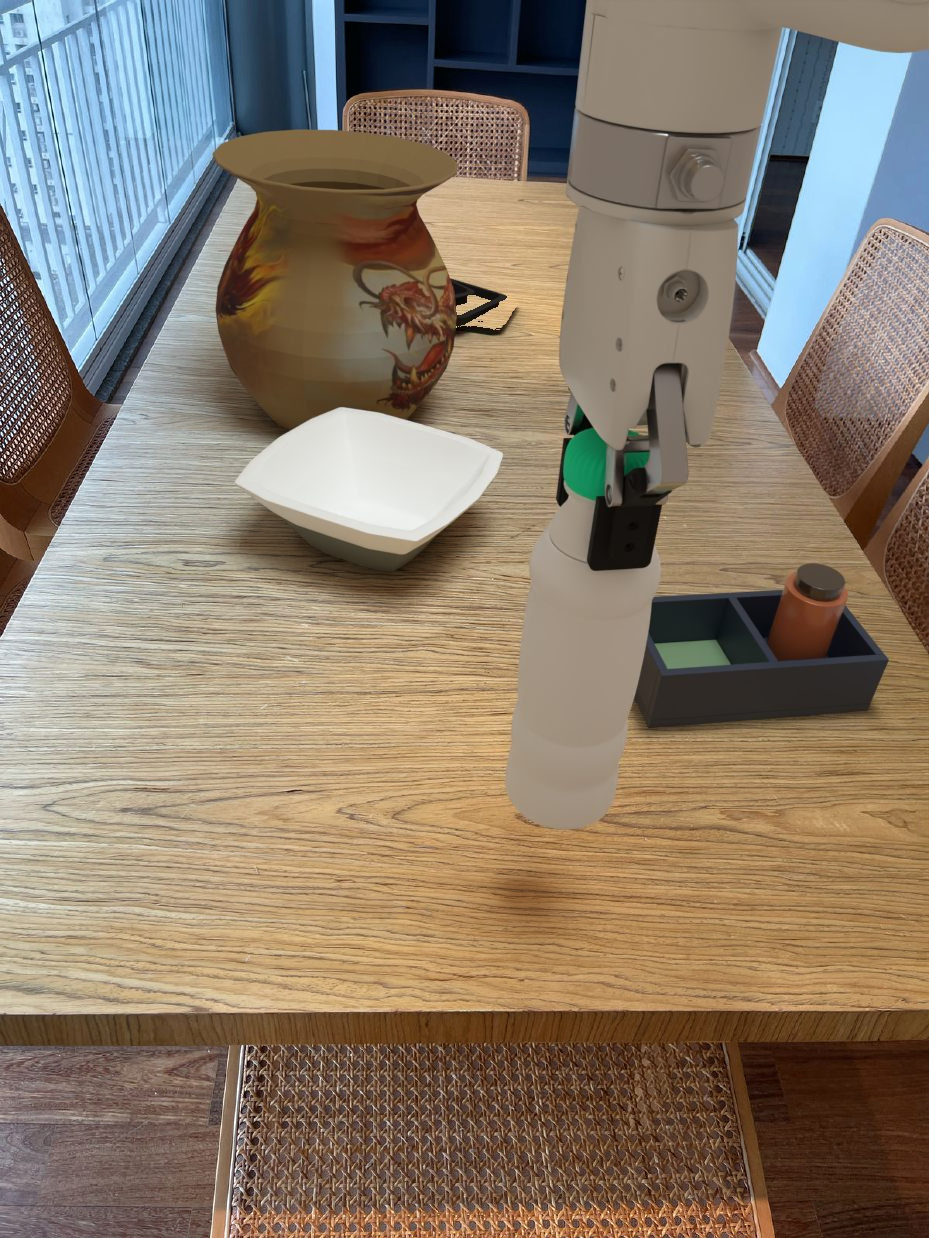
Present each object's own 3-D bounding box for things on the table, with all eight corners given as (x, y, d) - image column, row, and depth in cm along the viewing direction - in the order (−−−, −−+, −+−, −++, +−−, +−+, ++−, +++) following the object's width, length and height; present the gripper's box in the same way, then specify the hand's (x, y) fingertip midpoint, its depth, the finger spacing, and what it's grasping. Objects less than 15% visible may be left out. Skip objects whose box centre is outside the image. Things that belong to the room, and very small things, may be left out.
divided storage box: (611, 650, 93) (622, 598, 89) (813, 637, 96) (831, 586, 93) (648, 729, 84) (662, 675, 81) (867, 711, 88) (889, 659, 85)
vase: (441, 471, 117) (458, 204, 99) (196, 448, 117) (169, 178, 99) (457, 371, 140) (474, 140, 122) (253, 353, 140) (239, 119, 122)
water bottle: (513, 745, 68) (553, 403, 53) (617, 765, 67) (688, 421, 52) (494, 823, 62) (533, 464, 47) (608, 845, 61) (685, 486, 46)
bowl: (334, 465, 117) (333, 398, 111) (514, 520, 110) (522, 451, 105) (219, 555, 100) (212, 481, 95) (422, 627, 93) (426, 551, 88)
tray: (520, 298, 166) (523, 266, 162) (516, 352, 147) (519, 318, 144) (340, 281, 166) (340, 249, 163) (313, 333, 148) (312, 298, 144)
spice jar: (802, 648, 93) (834, 557, 87) (828, 685, 89) (864, 592, 83) (750, 652, 92) (779, 560, 86) (774, 689, 88) (806, 596, 82)
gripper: (839, 224, 36) (730, 628, 47) (673, 122, 49) (619, 455, 60) (639, 224, 34) (575, 640, 45) (524, 119, 48) (496, 460, 58)
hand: (600, 531), depth 52 cm, fingers closed on water bottle, 5 cm apart
